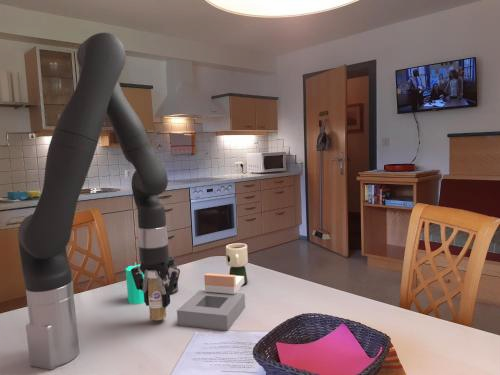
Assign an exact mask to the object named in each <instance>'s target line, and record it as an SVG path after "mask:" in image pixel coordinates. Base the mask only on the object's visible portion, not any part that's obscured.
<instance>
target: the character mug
mask: <svg viewBox="0 0 500 375" xmlns="http://www.w3.org/2000/svg"><path fill="white" fill-rule="evenodd" d="M248 256H249V255H248V244H246V243H241V242H237V243H236V242H235V243H231V244H230V243H229V244H227V245H226V246H225V260H226V265H227V266H229V267H230V268H229V274H228V275H235V276H244V284H247V283H248V275H247V270H246V266H247V265H248V264H249V257H248Z"/></svg>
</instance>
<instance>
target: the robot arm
mask: <svg viewBox="0 0 500 375" xmlns="http://www.w3.org/2000/svg"><path fill="white" fill-rule="evenodd" d="M126 55H127V54H126V50H125V46H124V44H123V43H122V41H121V40H120V39H119V38H118V37H117V36H116V35H114V34H112V33H109V32H98V33H94V34H91V36H89V37H87V38H86V39H85V40H84V41H83V42H82V43H81V44H80V45H79V47H78V48H77V51H76V61H77V64H78V66H79V68H80V69H81V71H80V74H79V77H78V82H77V85H76V86H75V89H74V91H73V93H72V95H71V96H70V98H69V100H68V101H67V102H66V104H65V106H64V109H63V110H62V112H61V114H60V115H59V118H58V120H57V121H56V124H55V127H54V130H53V133H52V135H51V138H50V140H49V141H50V142H49V145H48V150H47V154H46V160H45V161H46V162H45V166H44V168H45V169H44V179H43V186H42V190H41V193H40V196H39V199H38V202H37V204H36V206H35V209H34V211H33V213H32V214H29V215H27V216H26V217H25V218H24V219H23V220H22V222H21V223H20V225H19V228H18V230H17V231H18V233H17V237H18V238H17V240H18V247H19V248H18V249H19V255H20V262H21V271H22V275H23V279H24V280H23V281H24V287H25V292H26V293H25V295H26V302H27V303H26V304H27V312H28V313H27V314H28V318H29V323H26V326H25V331H26V339H27V340H26V341H27V346H28V347H27V348H28V355H29V357H28V358H29V365H30V367H35V368H36V367H37V368H40V369H41V368H42V369H47V370H54V369H55V368H57V367H59V366H62V365H66V364H67V363H69V362H71V361H72V360H74V359H75V358H76V357H78V355H79V354H80V345H79V342H80V341H79V334H78V333H79V332H78V325H77V316H76V315H77V314H76V306H75V305H76V304H75V295H74V284H73V275H72V274H73V273H72V270H71V265H70V262H69V258H68V252H67V246H68V244H69V243H70V240H71V235H72V230H73V225H74V219H75V214H76V210H77V205H78V202H79V198H80V195H81V192H82V190H83V187H84V186H85V182H86V180H87V177H88V173H89V170H90V168H91V165H92V162H93V160H94V156H95V153H96V149H97V147H98V144H99V140H100V136H101V134H102V129H103V126H104V122H105V119H106V116H107V118H108V120H109V122H110V124H111V127H112V129H113V132H114V135H115V137H116V139H117V140H116V141H117V142H118V145H119V146H120V149H121V152H122V154H123V156H124V159H126V160H125V161H127V162H129V163H130V164H132V165H133V167H134V169H135V171H134V172H133V174H132V176H131V192H132V196H133V200H134V203H135V206H136V209H137V223H138V224H137V225H138V233H137V234H138V236H137V240H138V254H139V256H138V258H139V262H140V264H141V265H140V266H136V267H134V268H132V269H131V273H132V276H133V279H134V282H135V285H136V288H137V290H142V291H143V292H144V304H145V306H147V307H149V296H148V277H147V276H148V271H150V270H154V272H155V275H156V276H157V278H156V279H157V283H158V286H159V287H160V288H161V291H162V307H164V308H166V309H167V308H168V306H169V305H170V304H171V294H170V293H171V292H172V291H174V290H175V289H176V287H177V283H178V284H179V278H180V273H181V270H180V269H179V268H177V269H176V270H175V269H173V268H170V265H169V262H168V261H169V257H170V255H169V254H170V252H169V236H168V229H167V220H166V219H167V216H166V209H165V206H164V204H162V203H161V202H160V199H159V195H161V194H163V193H164V192H165V191H166V190H167V187H168V184H169V180H168V174H167V171H166V170H165V168H164V166H163V164H162V162H161V161H160V159H159V157H158V156H157V154H156V153H155V152H154V150H153V148H152V145H151V143H150V139H149V137H148V135H147V133H146V129H145V126H144V124H143V123H142V121H141V119H140V117H139V116H138V114H137V113H136V111H135V110H134V108H133V106H132V105H131V104H130V102H129V101H128V99H127V98H126V96H125V94H124V91H123V89H122V86H121V84H120V81H119V78H120V77H121V74H122V71H123V70H124V67H125V65H126V60H127V58H126V57H127V56H126ZM159 272H160V273H159ZM168 272H169V274H170V276H169V277H171V278H170V282H169V279H168V276H167V274H168ZM142 273H143V274H144V279H143V276H142ZM163 279H164V281H163V282H162V280H163Z"/></svg>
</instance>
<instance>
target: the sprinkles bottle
mask: <svg viewBox="0 0 500 375" xmlns="http://www.w3.org/2000/svg"><path fill="white" fill-rule="evenodd" d="M159 273H160V272H159ZM147 277H148V296H149V306H148V307H149V308H148V309H149V317H148V318H149V319H150V320H152V321H161V320H164V319H165V318H166V317H167V307H166V308H164V307H162V291H161V288H160V287H159V286H158V283H157V279H156V278H157V276H156V275H155V272H154V270H150V271H148V276H147ZM163 281H164V279H163V280H162V282H163Z"/></svg>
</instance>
